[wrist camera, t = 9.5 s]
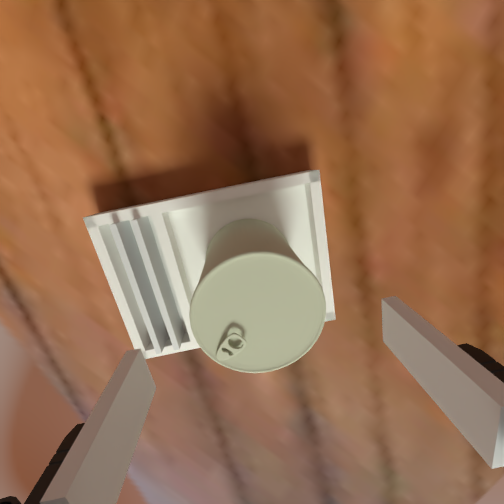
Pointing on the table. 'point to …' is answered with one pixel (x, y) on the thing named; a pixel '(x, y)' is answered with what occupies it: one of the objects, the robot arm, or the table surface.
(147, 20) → the table surface
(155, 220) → the rack
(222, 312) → the can
